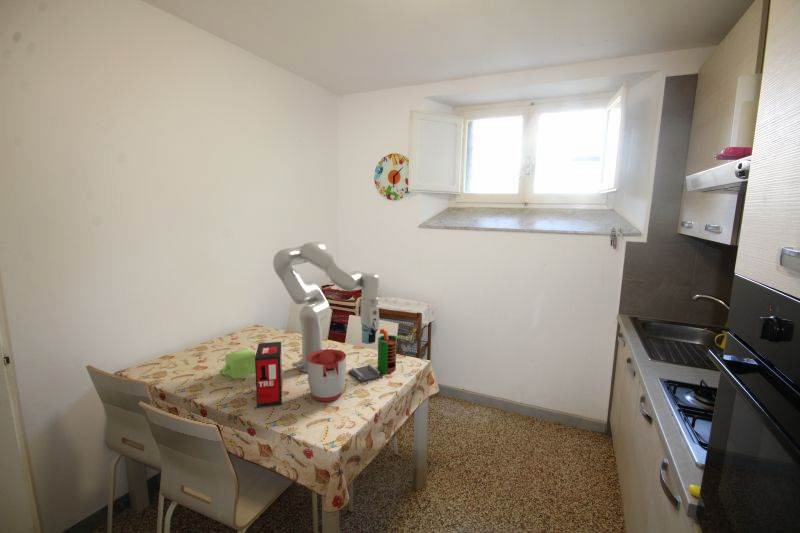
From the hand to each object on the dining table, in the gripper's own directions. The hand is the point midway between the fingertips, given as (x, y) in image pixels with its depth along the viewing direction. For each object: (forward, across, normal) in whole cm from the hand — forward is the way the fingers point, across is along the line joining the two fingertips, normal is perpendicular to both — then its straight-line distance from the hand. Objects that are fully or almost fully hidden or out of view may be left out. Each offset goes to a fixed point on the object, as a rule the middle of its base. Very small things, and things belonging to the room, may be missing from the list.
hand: (368, 339), depth 164 cm
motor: (+18, +2, -12) cm, 21 cm away
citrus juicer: (+18, -8, +22) cm, 30 cm away
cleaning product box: (+19, +3, +42) cm, 47 cm away
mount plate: (+18, +2, 0) cm, 18 cm away
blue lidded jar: (+1, 0, 0) cm, 1 cm away
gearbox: (+20, +31, +50) cm, 62 cm away
